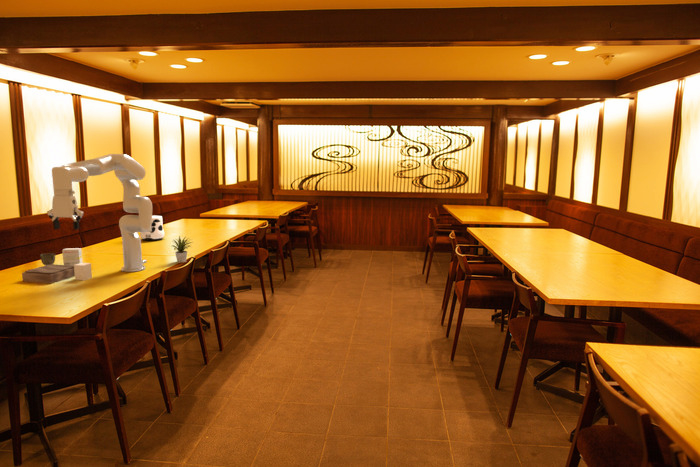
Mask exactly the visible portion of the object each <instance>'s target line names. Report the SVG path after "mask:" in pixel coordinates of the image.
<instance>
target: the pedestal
mask: <svg viewBox="0 0 700 467" xmlns="http://www.w3.org/2000/svg"><path fill="white" fill-rule="evenodd" d="M21 276H22V277H21V278H22V282H27V283H28V282H30V283H39V284H41V283H42V284H50V285H51V284H55V282H56V283H58V282H62V281H65V280H68V279H71V278H75V272H74V266H69V265H64V264H55V263H54V264H50V265H46V266H45V265H43V266H39V267H35V268H33V269H28V270H25V272H21Z"/></svg>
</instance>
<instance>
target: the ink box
mask: <svg viewBox="0 0 700 467" xmlns="http://www.w3.org/2000/svg"><path fill="white" fill-rule="evenodd" d="M61 252H62V261H63V265H69V266H74V265H76V264H79V263H83V254H82V253H83V252H82V248H81V247H80V248H79V247H75V248H74V247H73V248H71V247H70V248H68V247H67V248H63V249H62V251H61Z"/></svg>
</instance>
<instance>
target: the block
mask: <svg viewBox="0 0 700 467" xmlns="http://www.w3.org/2000/svg"><path fill="white" fill-rule="evenodd" d="M74 272H75V276H74V280H75V281H86V280H90V279H93V275H92V274H93V273H92V263H91V262H82V263H79V264H76V265H74Z"/></svg>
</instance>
